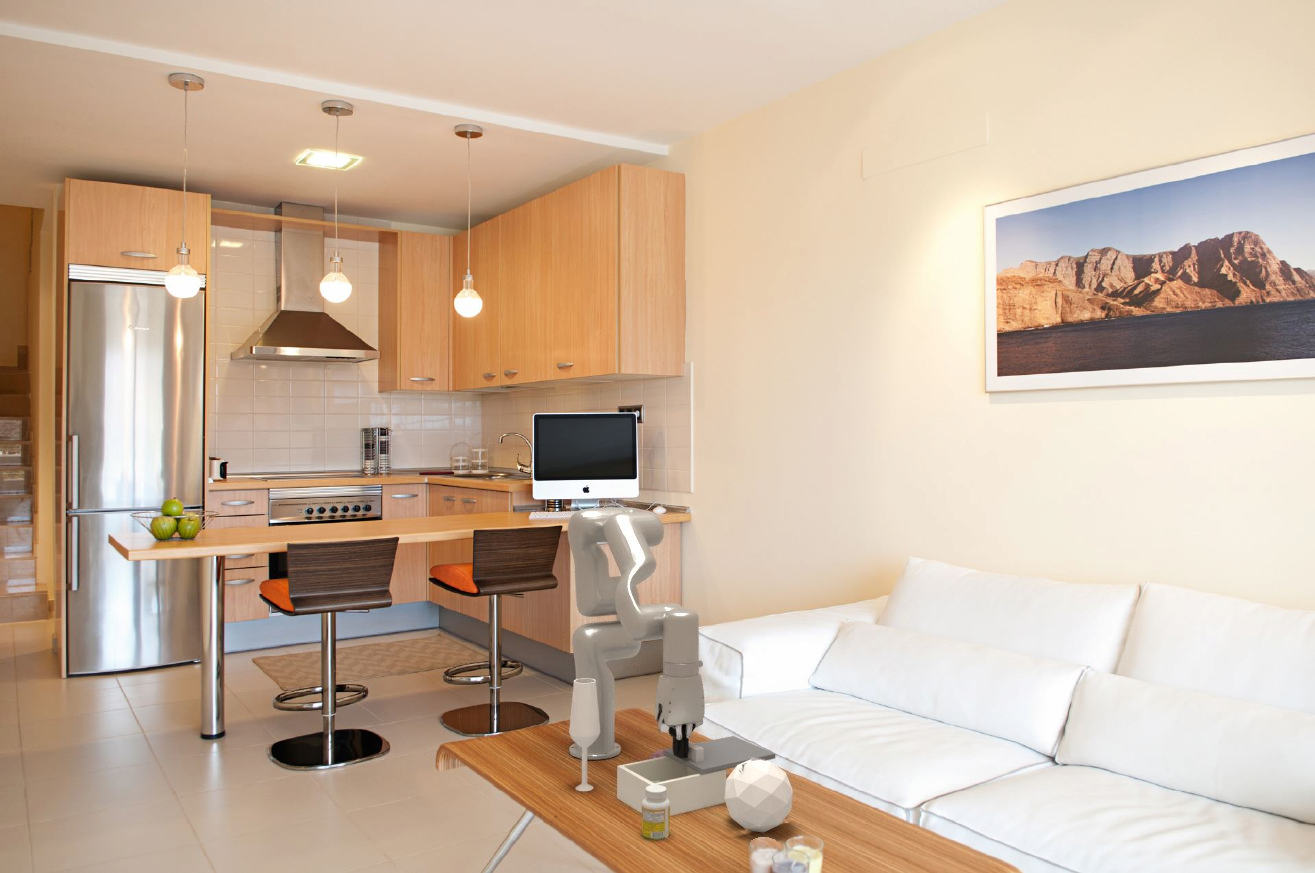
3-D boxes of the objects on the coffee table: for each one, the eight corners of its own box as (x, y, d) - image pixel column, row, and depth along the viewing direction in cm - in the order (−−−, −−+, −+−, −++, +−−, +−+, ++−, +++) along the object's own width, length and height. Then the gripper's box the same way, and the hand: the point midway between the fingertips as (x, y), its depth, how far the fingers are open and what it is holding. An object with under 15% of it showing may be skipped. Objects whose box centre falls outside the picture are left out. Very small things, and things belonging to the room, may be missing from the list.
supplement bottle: (657, 847, 173) (657, 795, 173) (635, 839, 176) (635, 788, 176) (675, 838, 177) (675, 787, 177) (654, 831, 180) (654, 781, 180)
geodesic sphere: (754, 822, 170) (780, 752, 176) (697, 803, 179) (724, 737, 186) (790, 851, 178) (814, 783, 184) (734, 831, 187) (759, 767, 194)
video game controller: (651, 791, 206) (665, 763, 206) (633, 780, 207) (647, 753, 207) (660, 776, 216) (673, 750, 215) (642, 766, 217) (656, 740, 216)
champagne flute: (576, 785, 205) (577, 676, 206) (604, 789, 203) (605, 678, 204) (563, 795, 199) (564, 683, 200) (592, 799, 197) (592, 685, 197)
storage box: (617, 802, 195) (617, 765, 195) (688, 786, 205) (688, 751, 205) (652, 825, 183) (652, 785, 183) (726, 806, 193) (726, 769, 193)
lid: (663, 754, 202) (663, 738, 202) (733, 740, 212) (733, 724, 212) (702, 774, 189) (702, 756, 189) (775, 758, 199) (775, 741, 199)
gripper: (700, 661, 203) (700, 746, 202) (641, 669, 195) (640, 757, 195) (720, 668, 196) (720, 755, 196) (660, 676, 189) (659, 767, 188)
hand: (680, 756), depth 195 cm, fingers closed
